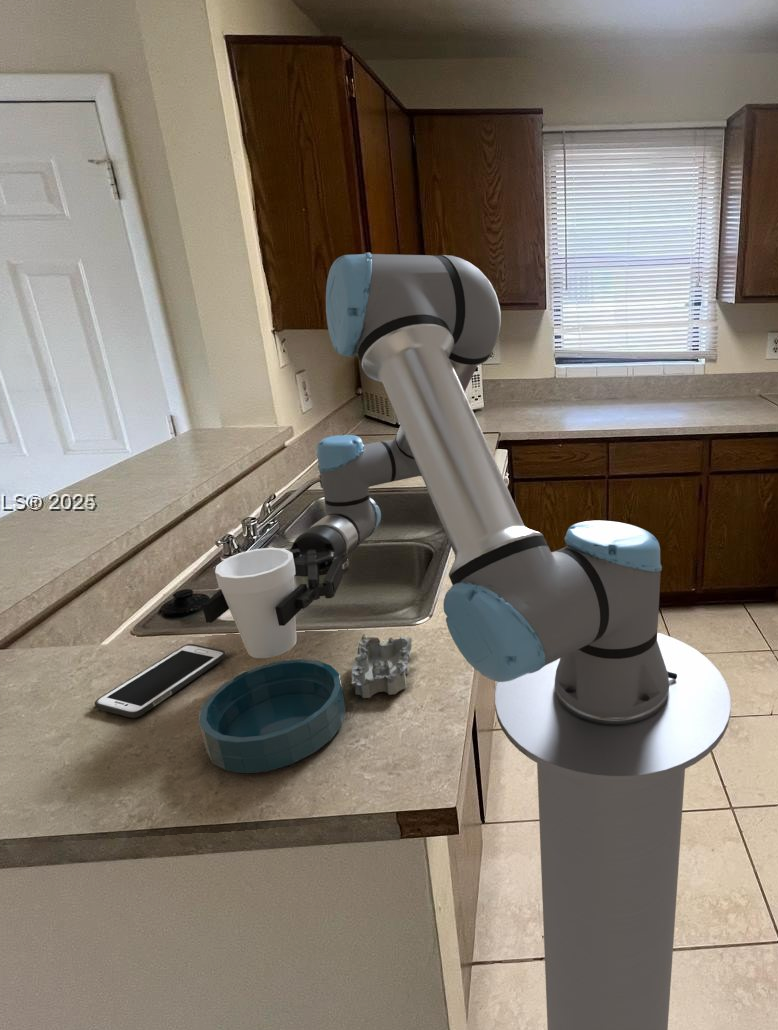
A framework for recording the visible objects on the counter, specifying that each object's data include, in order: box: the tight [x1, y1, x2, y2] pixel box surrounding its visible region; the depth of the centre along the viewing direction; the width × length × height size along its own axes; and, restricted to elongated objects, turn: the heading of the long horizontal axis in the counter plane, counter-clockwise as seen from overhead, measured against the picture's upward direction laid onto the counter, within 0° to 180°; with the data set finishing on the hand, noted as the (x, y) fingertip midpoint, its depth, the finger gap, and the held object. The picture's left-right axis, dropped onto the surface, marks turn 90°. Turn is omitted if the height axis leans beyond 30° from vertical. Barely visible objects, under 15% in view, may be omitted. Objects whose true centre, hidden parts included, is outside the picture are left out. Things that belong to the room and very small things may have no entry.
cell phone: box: [94, 643, 227, 719], centre depth 85 cm, size 8×15×1 cm, turn 163°
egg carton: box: [351, 634, 413, 699], centre depth 86 cm, size 11×8×4 cm
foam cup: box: [214, 547, 298, 659], centre depth 84 cm, size 10×9×13 cm
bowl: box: [198, 658, 347, 774], centre depth 75 cm, size 16×16×5 cm
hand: (243, 615), depth 79 cm, fingers closed on foam cup, 9 cm apart
